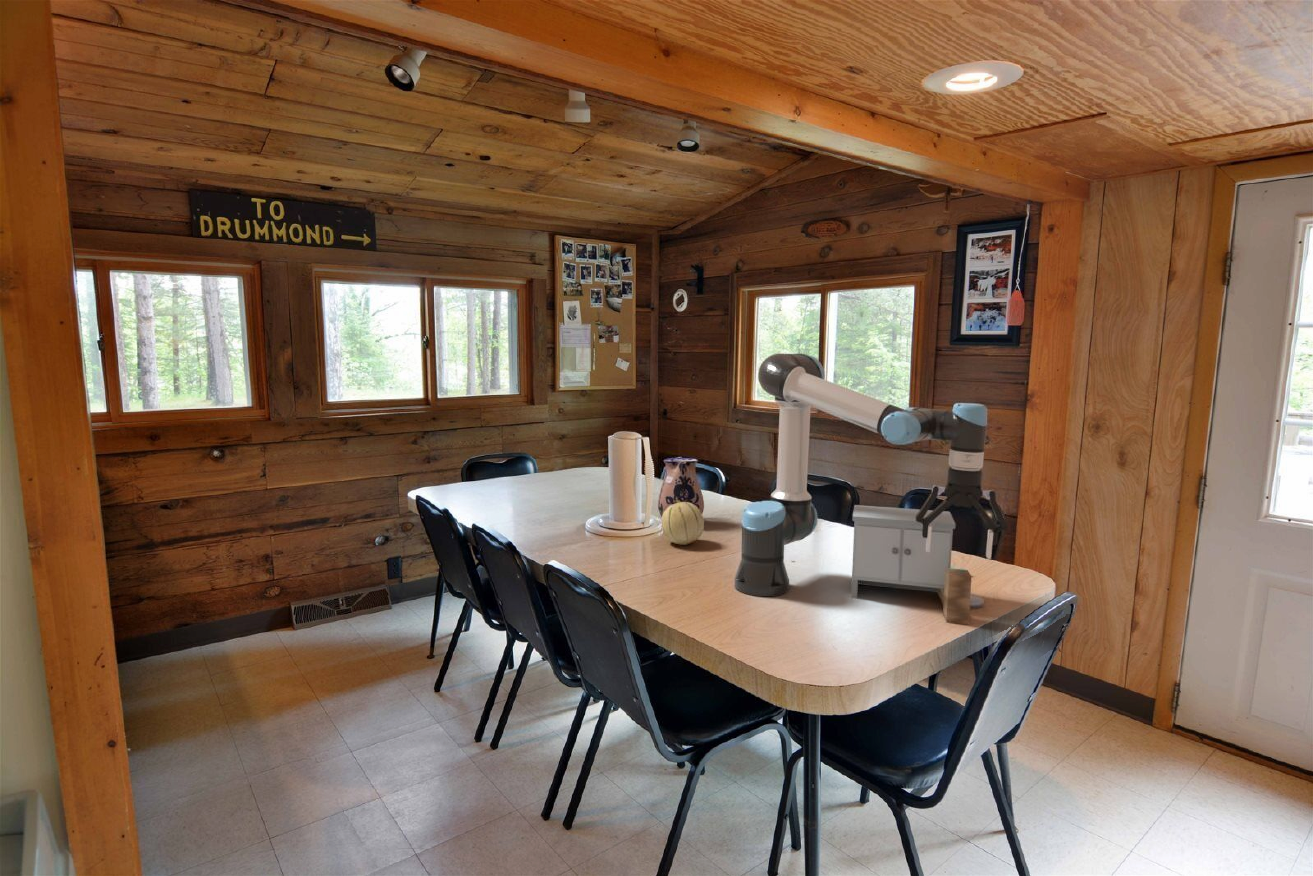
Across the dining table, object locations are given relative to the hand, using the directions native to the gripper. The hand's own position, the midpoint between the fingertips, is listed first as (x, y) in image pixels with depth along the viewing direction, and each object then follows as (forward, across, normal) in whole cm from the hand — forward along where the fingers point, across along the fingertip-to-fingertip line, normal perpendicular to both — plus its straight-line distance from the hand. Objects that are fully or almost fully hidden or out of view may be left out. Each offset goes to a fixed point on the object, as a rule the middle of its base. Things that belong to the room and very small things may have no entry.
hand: (957, 554), depth 166 cm
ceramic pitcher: (+20, -90, +72) cm, 117 cm away
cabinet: (+17, -12, +15) cm, 25 cm away
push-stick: (+17, 0, +8) cm, 18 cm away
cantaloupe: (+19, -81, +44) cm, 94 cm away
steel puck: (+17, +5, +13) cm, 22 cm away
